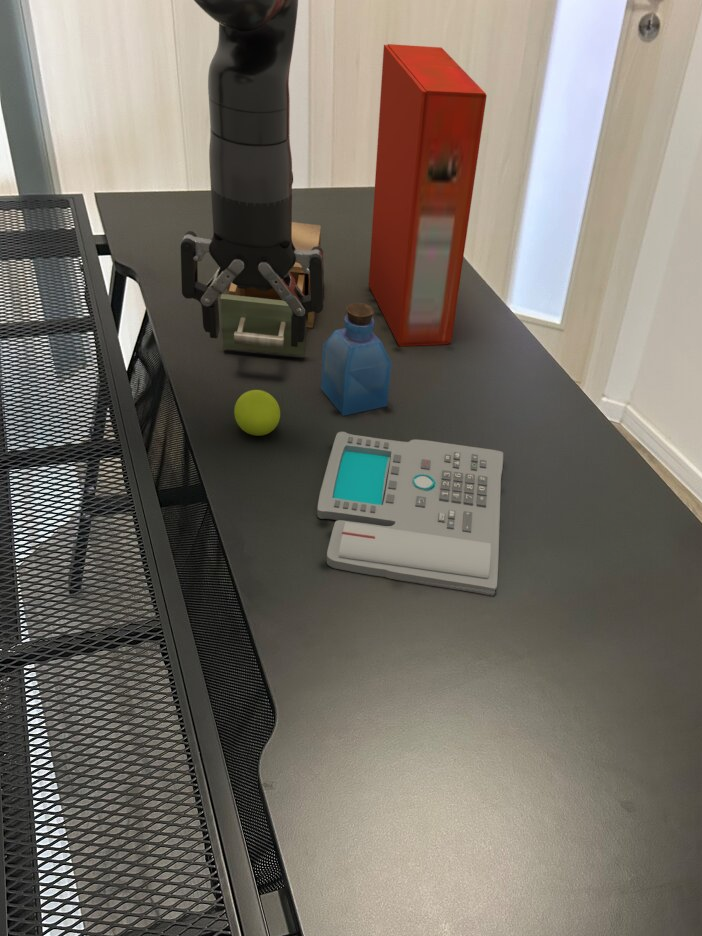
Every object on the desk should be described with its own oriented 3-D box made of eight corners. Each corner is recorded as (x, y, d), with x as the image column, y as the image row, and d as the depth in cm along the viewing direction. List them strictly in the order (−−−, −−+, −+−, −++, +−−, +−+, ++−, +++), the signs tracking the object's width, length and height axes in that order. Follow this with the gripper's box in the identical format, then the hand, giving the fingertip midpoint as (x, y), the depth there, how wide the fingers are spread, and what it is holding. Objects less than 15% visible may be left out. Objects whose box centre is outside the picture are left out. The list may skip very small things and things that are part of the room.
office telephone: (501, 579, 85) (302, 551, 84) (496, 597, 87) (302, 569, 86) (505, 442, 101) (338, 416, 100) (501, 459, 103) (337, 434, 102)
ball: (232, 442, 98) (230, 404, 95) (238, 416, 102) (236, 378, 98) (278, 446, 99) (277, 408, 95) (282, 420, 103) (282, 383, 99)
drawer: (301, 377, 108) (302, 328, 103) (217, 369, 107) (214, 319, 102) (310, 309, 120) (311, 262, 115) (235, 301, 119) (233, 253, 114)
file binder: (395, 346, 118) (422, 89, 95) (366, 286, 129) (383, 43, 106) (450, 344, 121) (489, 93, 98) (417, 285, 132) (445, 47, 109)
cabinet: (313, 328, 118) (314, 268, 112) (227, 319, 117) (224, 258, 111) (319, 282, 128) (321, 225, 122) (240, 273, 126) (238, 215, 120)
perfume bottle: (386, 406, 108) (396, 318, 99) (343, 415, 105) (348, 326, 96) (364, 380, 111) (371, 293, 103) (321, 389, 108) (324, 300, 100)
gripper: (166, 189, 77) (181, 350, 88) (325, 208, 79) (320, 364, 90) (180, 158, 82) (193, 314, 94) (329, 177, 84) (324, 328, 95)
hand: (255, 338), depth 92 cm, fingers open, 8 cm apart
